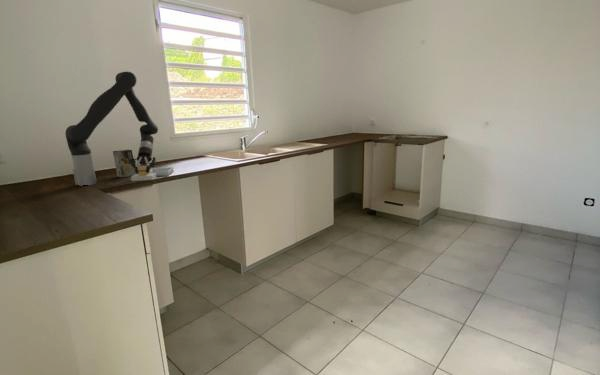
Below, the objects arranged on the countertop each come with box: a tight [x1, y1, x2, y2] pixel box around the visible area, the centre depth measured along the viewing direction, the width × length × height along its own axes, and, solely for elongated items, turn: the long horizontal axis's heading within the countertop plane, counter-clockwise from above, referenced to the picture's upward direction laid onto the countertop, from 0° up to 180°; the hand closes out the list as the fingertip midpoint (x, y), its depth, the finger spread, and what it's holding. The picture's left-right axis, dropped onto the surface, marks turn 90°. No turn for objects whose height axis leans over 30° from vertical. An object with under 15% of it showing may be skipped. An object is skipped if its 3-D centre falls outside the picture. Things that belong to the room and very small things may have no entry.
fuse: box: [137, 165, 148, 176], centre depth 193 cm, size 5×2×8 cm, turn 97°
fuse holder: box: [130, 173, 157, 182], centre depth 193 cm, size 12×7×2 cm, turn 97°
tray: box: [148, 166, 174, 178], centre depth 206 cm, size 13×13×3 cm
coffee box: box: [112, 149, 137, 178], centre depth 203 cm, size 9×6×16 cm
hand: (142, 172), depth 191 cm, fingers open, 5 cm apart
